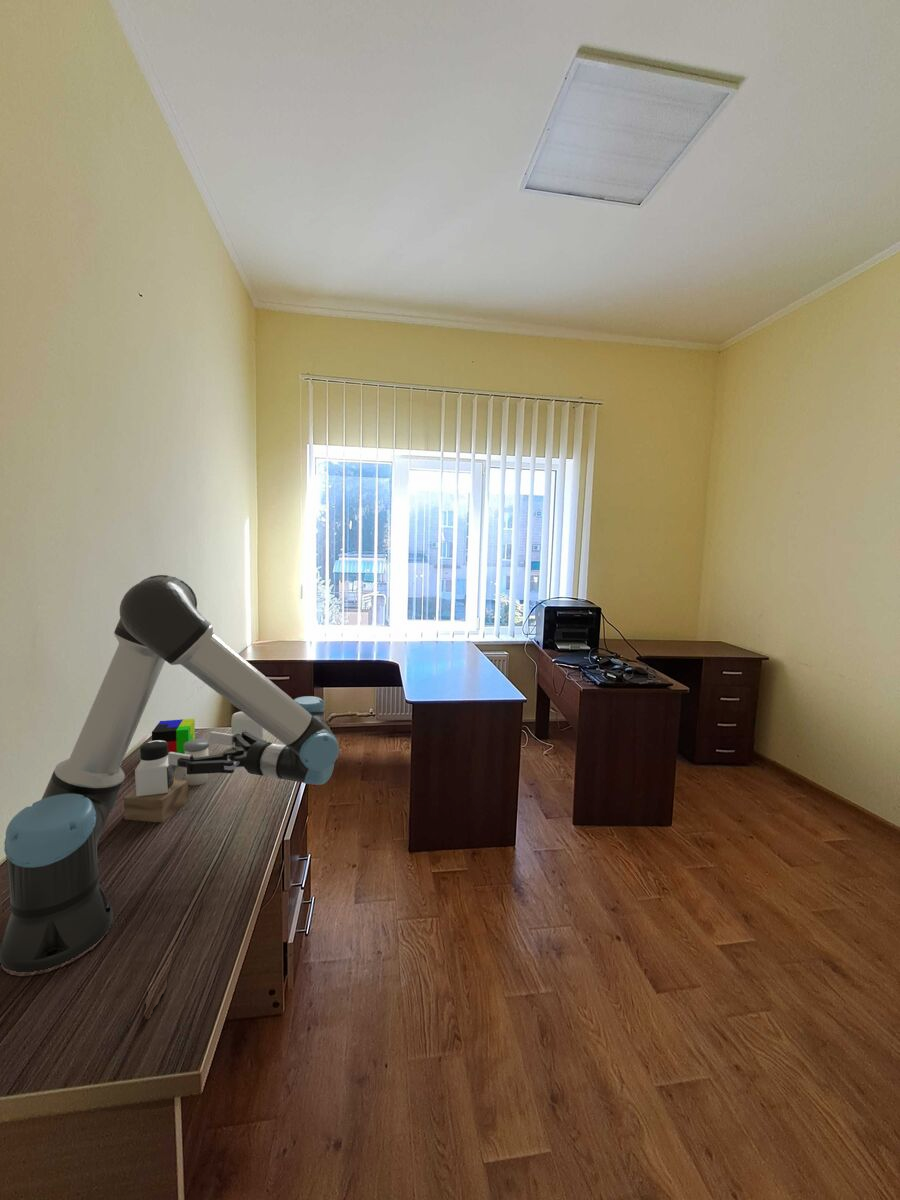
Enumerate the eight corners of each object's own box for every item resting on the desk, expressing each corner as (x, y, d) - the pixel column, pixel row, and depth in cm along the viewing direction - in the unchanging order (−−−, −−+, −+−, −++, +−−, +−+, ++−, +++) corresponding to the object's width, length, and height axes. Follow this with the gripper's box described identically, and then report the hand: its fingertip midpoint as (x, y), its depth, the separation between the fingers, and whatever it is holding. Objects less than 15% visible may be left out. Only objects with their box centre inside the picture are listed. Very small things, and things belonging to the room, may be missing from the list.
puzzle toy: (161, 750, 160) (160, 721, 159) (195, 747, 163) (194, 718, 162) (152, 763, 151) (151, 732, 149) (189, 760, 154) (188, 729, 152)
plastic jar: (198, 787, 137) (197, 748, 136) (179, 783, 138) (178, 746, 137) (214, 776, 143) (213, 740, 142) (196, 773, 145) (195, 737, 143)
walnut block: (162, 823, 120) (161, 800, 119) (124, 820, 120) (123, 797, 120) (188, 802, 129) (187, 780, 129) (153, 799, 130) (152, 778, 130)
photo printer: (229, 748, 162) (228, 712, 161) (236, 743, 167) (235, 708, 165) (259, 750, 162) (258, 714, 160) (265, 745, 166) (264, 710, 164)
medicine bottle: (168, 793, 122) (166, 747, 121) (135, 797, 120) (133, 750, 118) (175, 780, 129) (173, 736, 127) (144, 784, 126) (142, 739, 125)
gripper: (233, 800, 103) (149, 784, 108) (296, 753, 127) (225, 742, 132) (233, 766, 102) (148, 751, 107) (297, 725, 126) (225, 715, 131)
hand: (191, 746), depth 119 cm, fingers open, 13 cm apart
